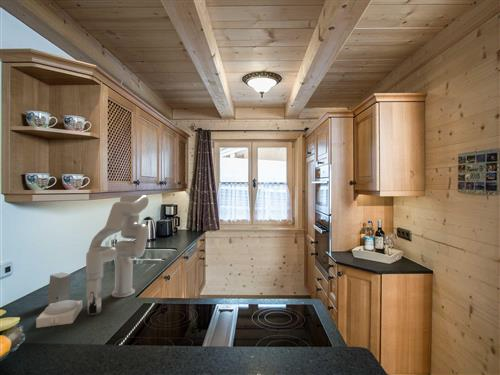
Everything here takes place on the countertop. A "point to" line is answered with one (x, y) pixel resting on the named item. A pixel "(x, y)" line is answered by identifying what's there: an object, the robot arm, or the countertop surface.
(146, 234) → the robot arm
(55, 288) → the skincare box
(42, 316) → the scale
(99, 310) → the steel spacer
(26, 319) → the countertop surface
